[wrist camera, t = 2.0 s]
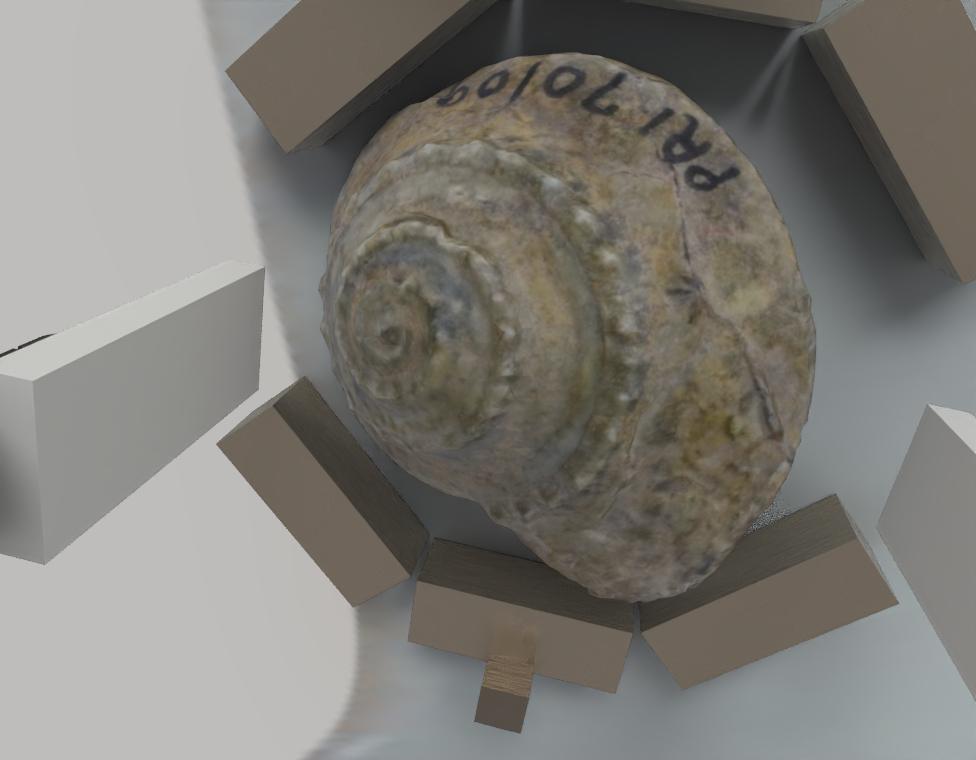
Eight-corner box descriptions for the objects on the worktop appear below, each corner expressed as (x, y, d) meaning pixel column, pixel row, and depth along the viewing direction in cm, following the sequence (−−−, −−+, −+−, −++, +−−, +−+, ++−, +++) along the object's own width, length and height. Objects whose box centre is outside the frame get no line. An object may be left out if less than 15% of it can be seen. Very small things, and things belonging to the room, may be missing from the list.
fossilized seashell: (702, -62, 14) (715, 112, 9) (845, 345, 20) (901, 587, 15) (277, 165, 19) (136, 356, 14) (491, 437, 25) (445, 640, 20)
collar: (280, -220, 15) (198, -289, 13) (1153, -94, 14) (1295, -141, 11) (245, 574, 23) (188, 646, 20) (804, 714, 22) (831, 815, 19)
